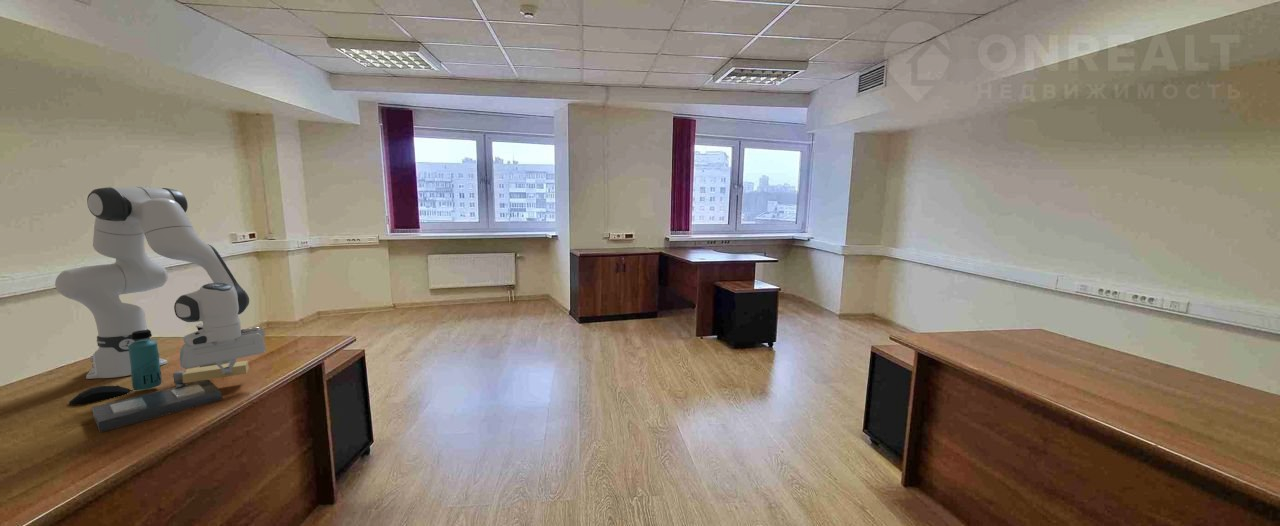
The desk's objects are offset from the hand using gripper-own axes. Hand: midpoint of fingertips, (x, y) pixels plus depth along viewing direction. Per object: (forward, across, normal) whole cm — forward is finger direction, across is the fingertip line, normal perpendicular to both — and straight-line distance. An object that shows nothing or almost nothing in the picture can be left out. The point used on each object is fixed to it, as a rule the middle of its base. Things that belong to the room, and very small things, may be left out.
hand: (227, 373), depth 141 cm
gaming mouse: (+6, +24, -21) cm, 33 cm away
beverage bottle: (+6, +16, -18) cm, 25 cm away
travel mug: (+6, -1, -22) cm, 23 cm away
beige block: (+2, +3, -5) cm, 6 cm away
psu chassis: (+6, +16, 0) cm, 17 cm away
